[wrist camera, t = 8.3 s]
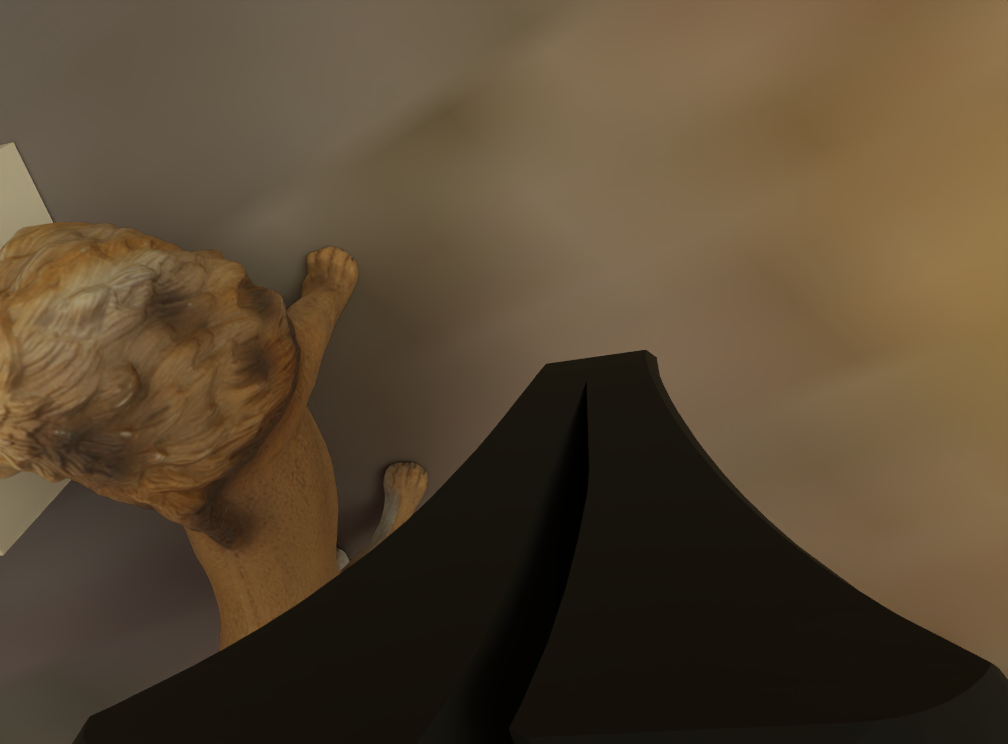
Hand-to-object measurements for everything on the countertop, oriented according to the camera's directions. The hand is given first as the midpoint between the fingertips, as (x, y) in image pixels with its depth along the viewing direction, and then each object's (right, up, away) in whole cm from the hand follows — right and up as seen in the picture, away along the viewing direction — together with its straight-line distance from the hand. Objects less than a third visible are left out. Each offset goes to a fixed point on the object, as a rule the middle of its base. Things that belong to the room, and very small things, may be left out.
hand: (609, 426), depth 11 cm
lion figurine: (-6, 0, +12) cm, 14 cm away
